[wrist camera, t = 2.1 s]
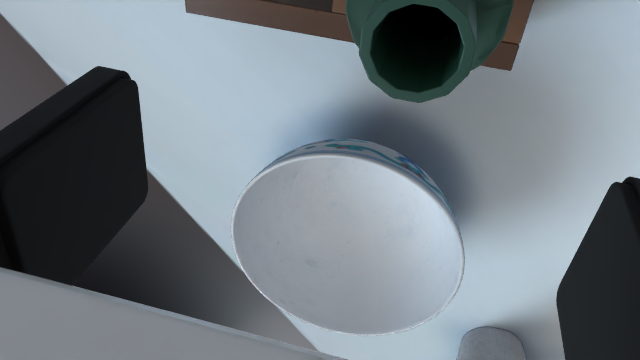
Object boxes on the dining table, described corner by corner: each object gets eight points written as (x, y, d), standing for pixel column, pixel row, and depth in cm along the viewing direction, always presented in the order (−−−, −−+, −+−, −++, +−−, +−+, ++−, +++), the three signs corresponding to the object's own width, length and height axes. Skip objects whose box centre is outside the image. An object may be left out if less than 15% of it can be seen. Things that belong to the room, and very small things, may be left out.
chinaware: (487, 112, 35) (489, 179, 29) (446, 277, 44) (441, 355, 38) (265, 81, 37) (223, 136, 31) (268, 243, 46) (236, 311, 40)
